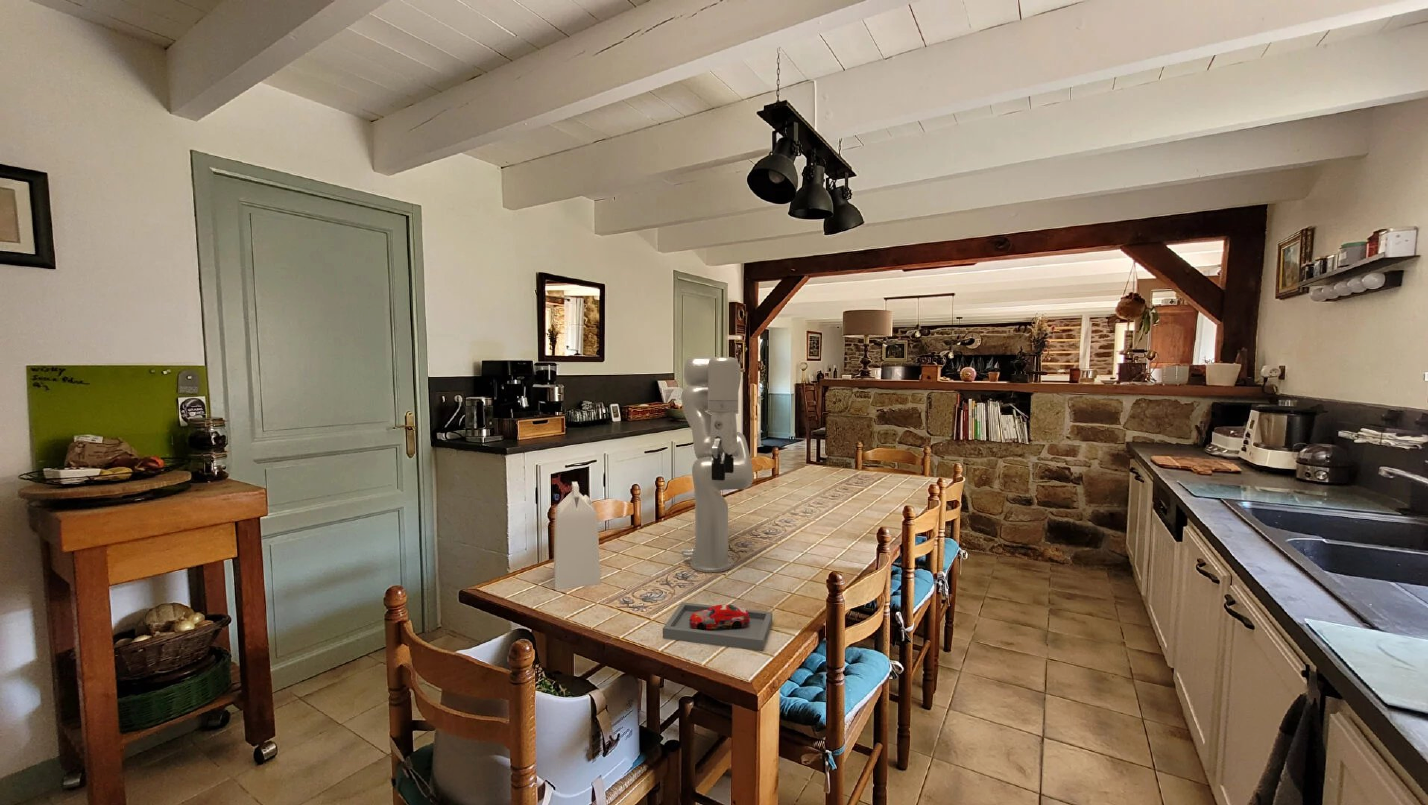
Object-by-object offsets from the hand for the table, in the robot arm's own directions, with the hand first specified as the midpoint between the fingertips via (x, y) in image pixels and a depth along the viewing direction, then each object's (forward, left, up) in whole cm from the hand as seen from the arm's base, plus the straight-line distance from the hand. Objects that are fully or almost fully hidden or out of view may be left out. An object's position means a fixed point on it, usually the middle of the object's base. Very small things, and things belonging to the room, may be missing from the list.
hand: (722, 476), depth 137 cm
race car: (+3, -17, -30) cm, 35 cm away
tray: (+4, -18, -30) cm, 35 cm away
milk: (-41, +1, -31) cm, 51 cm away
